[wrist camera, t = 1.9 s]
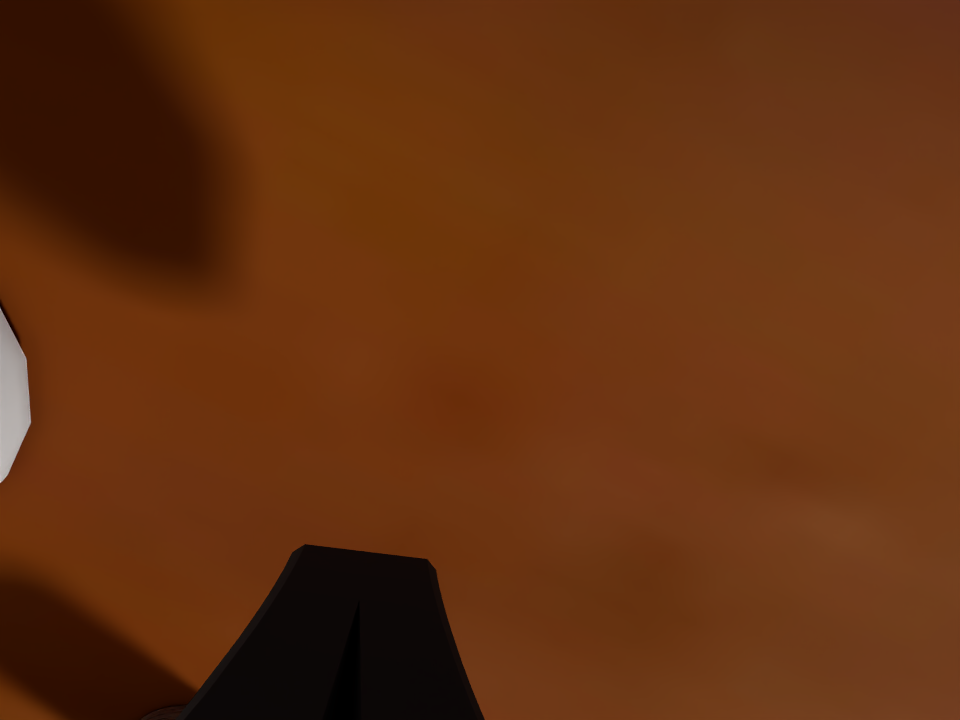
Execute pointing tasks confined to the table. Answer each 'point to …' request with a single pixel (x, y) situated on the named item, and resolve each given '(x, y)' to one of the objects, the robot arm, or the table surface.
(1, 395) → the white jar
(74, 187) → the table surface
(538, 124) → the table surface
